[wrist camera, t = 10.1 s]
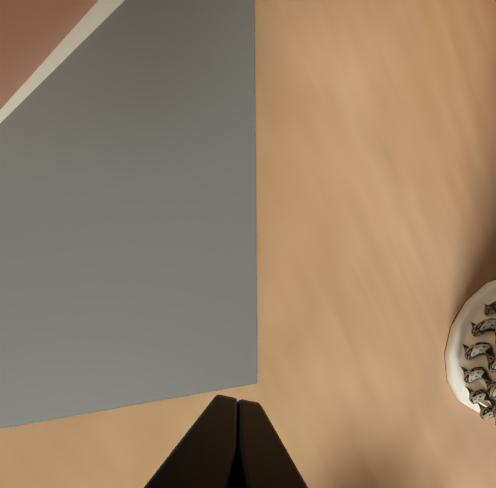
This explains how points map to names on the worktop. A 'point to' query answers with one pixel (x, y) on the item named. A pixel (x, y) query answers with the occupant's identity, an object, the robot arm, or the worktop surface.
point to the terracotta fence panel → (32, 36)
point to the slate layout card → (130, 212)
